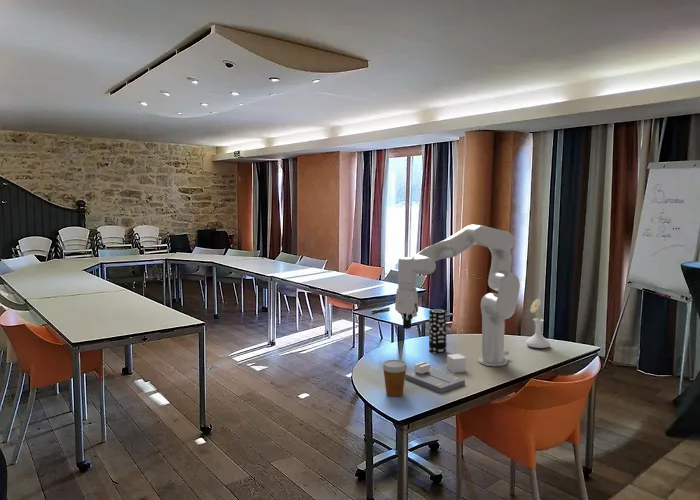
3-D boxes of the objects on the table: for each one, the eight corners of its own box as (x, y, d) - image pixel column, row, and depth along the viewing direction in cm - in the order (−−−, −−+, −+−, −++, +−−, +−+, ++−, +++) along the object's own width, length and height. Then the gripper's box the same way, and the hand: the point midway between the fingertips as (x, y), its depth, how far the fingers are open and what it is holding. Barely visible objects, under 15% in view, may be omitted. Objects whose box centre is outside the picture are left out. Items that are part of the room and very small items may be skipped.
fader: (422, 368, 214) (422, 361, 214) (429, 371, 211) (429, 363, 211) (414, 371, 211) (414, 363, 211) (421, 373, 208) (421, 365, 208)
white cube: (465, 371, 218) (466, 357, 217) (453, 372, 216) (453, 359, 215) (458, 366, 223) (459, 353, 223) (446, 368, 222) (446, 354, 221)
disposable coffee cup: (380, 389, 198) (380, 359, 197) (404, 388, 199) (404, 358, 198) (384, 399, 189) (384, 368, 187) (409, 397, 190) (409, 367, 188)
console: (428, 371, 218) (428, 366, 218) (464, 384, 202) (464, 379, 202) (404, 378, 209) (404, 373, 209) (440, 393, 194) (440, 387, 193)
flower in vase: (525, 342, 258) (527, 294, 256) (549, 344, 254) (551, 295, 252) (525, 349, 246) (526, 299, 243) (550, 352, 242) (552, 301, 239)
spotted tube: (448, 350, 247) (449, 310, 245) (442, 354, 240) (442, 313, 238) (433, 347, 251) (433, 308, 249) (426, 352, 244) (426, 311, 242)
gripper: (388, 284, 218) (388, 326, 220) (413, 289, 206) (413, 333, 208) (401, 282, 223) (401, 323, 225) (426, 287, 211) (425, 330, 213)
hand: (407, 328), depth 216 cm, fingers closed
